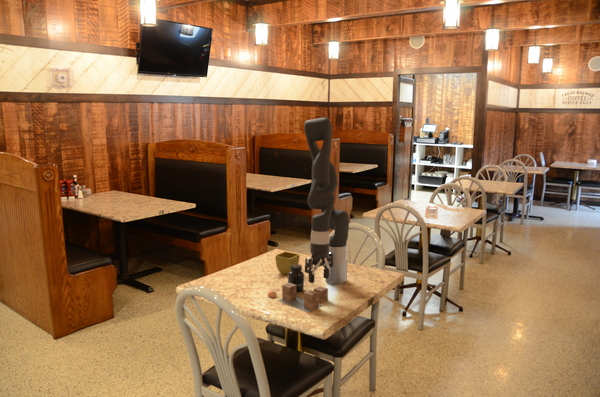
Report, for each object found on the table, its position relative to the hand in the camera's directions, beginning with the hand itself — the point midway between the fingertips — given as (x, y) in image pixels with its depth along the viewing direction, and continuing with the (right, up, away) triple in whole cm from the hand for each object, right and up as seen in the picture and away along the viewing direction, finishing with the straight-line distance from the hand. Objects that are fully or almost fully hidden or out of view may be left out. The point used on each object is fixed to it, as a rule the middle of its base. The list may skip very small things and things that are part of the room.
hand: (318, 280), depth 195 cm
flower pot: (-14, -3, +38) cm, 41 cm away
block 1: (-12, -8, +2) cm, 14 cm away
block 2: (-3, -9, -6) cm, 12 cm away
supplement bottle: (-9, -8, +13) cm, 17 cm away
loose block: (+1, -9, +2) cm, 9 cm away
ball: (-19, -9, +5) cm, 22 cm away
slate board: (-8, -10, -2) cm, 13 cm away
